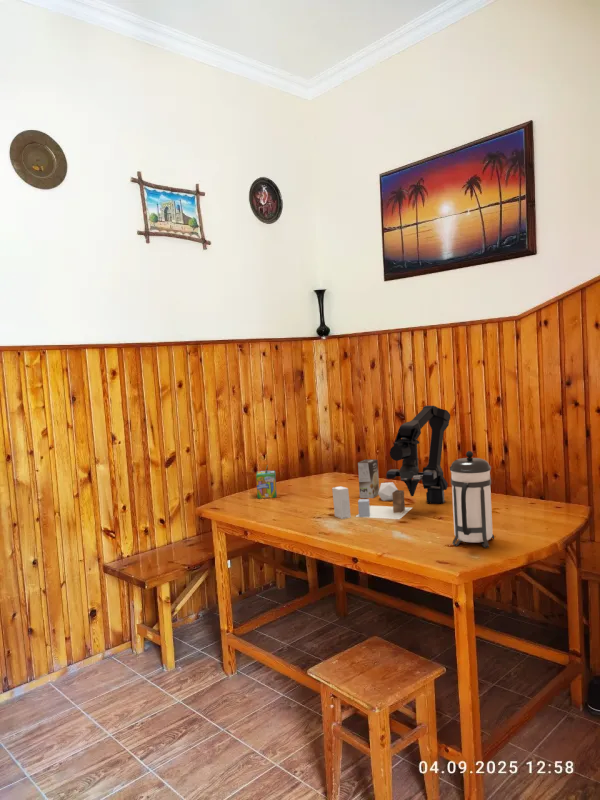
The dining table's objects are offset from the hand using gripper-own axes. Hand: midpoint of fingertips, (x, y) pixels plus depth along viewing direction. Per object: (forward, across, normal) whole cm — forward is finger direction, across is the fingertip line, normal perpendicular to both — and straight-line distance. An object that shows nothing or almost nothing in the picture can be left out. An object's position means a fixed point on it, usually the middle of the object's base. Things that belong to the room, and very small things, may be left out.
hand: (412, 496), depth 236 cm
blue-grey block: (+6, -17, -8) cm, 20 cm away
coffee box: (+7, -27, +26) cm, 38 cm away
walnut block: (+6, -6, 0) cm, 9 cm away
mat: (+7, -11, -2) cm, 13 cm away
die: (+7, -16, +19) cm, 26 cm away
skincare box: (+7, -25, -12) cm, 29 cm away
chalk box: (+7, -75, +18) cm, 77 cm away
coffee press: (+7, +29, -32) cm, 44 cm away
